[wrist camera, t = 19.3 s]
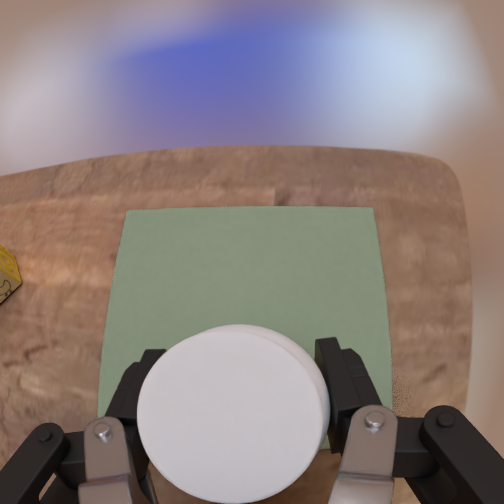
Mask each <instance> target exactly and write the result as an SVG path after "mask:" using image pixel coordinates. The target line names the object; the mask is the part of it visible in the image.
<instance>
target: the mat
mask: <svg viewBox="0 0 504 504" xmlns="http://www.w3.org/2000/svg"><path fill="white" fill-rule="evenodd" d="M232 324H246V325H254V326H260V327H264V328H268V329H271V330H273V331H276V332H278V333H280V334H282V335H284V336H286V337H288V338H289V339H291V340H293V341H294V342H295V343H297V344H298V345H299V346H300V347H302V348H303V349H304V350H305V351H306V352H307V353H308V354H309V355H310V356H311V358H312V359H313V360H314V359H315V340H316V339H320V338H328V337H336V338H337V340H338V343H339V345H340V348H341V349H348V348H351V349H353V350H354V351H355V352H356V353H358V354H359V355H360V356H361V358H362V360H363V363H364V365H365V367H366V369H367V371H368V375H369V376H370V378H371V380H372V382H373V385H374V387H375V389H376V391H377V394H378V396H379V398H380V400H381V403H382V405H383V406H385V407H387V408H389V409H391V410H393V407H392V365H391V346H390V332H389V320H388V309H387V300H386V291H385V282H384V275H383V267H382V260H381V253H380V247H379V241H378V235H377V229H376V223H375V218H374V213H373V208H364V207H311V206H253V207H200V208H169V209H146V210H128V211H127V214H126V219H125V223H124V227H123V231H122V236H121V240H120V245H119V249H118V254H117V259H116V264H115V269H114V275H113V280H112V286H111V292H110V298H109V304H108V310H107V317H106V324H105V332H104V340H103V349H102V358H101V369H100V381H99V395H98V415H97V418H100V417H104V415H105V413H106V411H107V408H108V406H109V404H110V402H111V400H112V397H113V395H114V393H115V391H116V389H117V386H118V384H119V382H121V378H122V376H123V373H124V371H125V370H126V369H127V368H128V367H129V366H130V365H131V364H132V363H133V362H140V360H141V358H142V355H143V353H144V351H145V350H146V349H166V351H168V350H169V349H170V348H172V347H173V346H175V345H176V344H178V343H180V342H181V341H183V340H185V339H187V338H189V337H192V336H194V335H197V334H199V333H201V332H203V331H206V330H208V329H212V328H215V327H219V326H224V325H232ZM320 449H330V444H329V440H328V436H327V434H326V437H325V440H324V442H323V444H322V446H321V448H320Z"/></svg>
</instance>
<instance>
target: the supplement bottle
mask: <svg viewBox="0 0 504 504" xmlns="http://www.w3.org/2000/svg"><path fill="white" fill-rule="evenodd" d="M329 422H330V399H329V393H328V389H327V386H326V383H325V380H324V378H323V376H322V374H321V371H320V370H319V368H318V366H317V365H316V363H315V362H314V360H313V359H312V358H311V356H310V355H309V354H308V353H307V352H306V351H305V350H304V349H303V348H302V347H300V346H299V345H298V344H297V343H295V342H294V341H293V340H291V339H289V338H288V337H286V336H284V335H282V334H280V333H278V332H276V331H273V330H271V329H268V328H264V327H260V326H254V325H246V324H232V325H224V326H219V327H215V328H212V329H208V330H206V331H203V332H201V333H199V334H197V335H194V336H192V337H189V338H187V339H185V340H183V341H181V342H180V343H178V344H176V345H175V346H173V347H172V348H170V349H169V350H168V351H167V352H165V353H164V354H163V355H162V356H161V357H160V358H159V359H158V360H157V362H156V363H155V364H154V365H153V367H152V368H151V370H150V371H149V373H148V375H147V376H146V378H145V380H144V382H143V385H142V387H141V391H140V394H139V399H138V405H137V424H138V430H139V434H140V438H141V441H142V444H143V446H144V449H145V451H146V453H147V455H148V457H149V458H150V460H151V461H152V463H153V464H154V466H155V467H156V468H157V469H158V471H159V472H160V473H161V474H162V475H163V476H164V477H165V478H166V479H167V480H168V481H170V482H171V483H172V484H173V485H175V486H176V487H178V488H180V489H181V490H183V491H185V492H186V493H188V494H190V495H193V496H195V497H198V498H200V499H203V500H207V501H211V502H216V503H225V504H242V503H249V502H255V501H259V500H262V499H265V498H268V497H271V496H273V495H275V494H277V493H279V492H281V491H282V490H284V489H285V488H287V487H288V486H290V485H291V484H292V483H293V482H294V481H296V480H297V479H298V478H299V477H300V476H301V475H302V474H303V472H304V471H305V470H306V469H307V468H308V466H309V465H310V463H311V461H312V460H313V459H314V457H315V456H316V454H317V453H318V451H319V450H320V448H321V446H322V444H323V442H324V440H325V437H326V434H327V431H328V427H329Z"/></svg>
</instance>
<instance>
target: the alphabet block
mask: <svg viewBox="0 0 504 504" xmlns="http://www.w3.org/2000/svg"><path fill="white" fill-rule="evenodd" d="M21 283H22V281H21V278H20V274H19V271H18V267H17V263H16V260H15V257H14V255H12V254H11V253H10V252H9V251H7V250H6V249H5V248H4V247H2V246H1V245H0V303H1V302H2V301H3V300H4V299H5V298H6V297H7V296H8V295H10V294H11V293H12V292H13V291H14V290H15V289H16V288H17V287H18V286H19V285H20V284H21Z"/></svg>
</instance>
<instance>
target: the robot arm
mask: <svg viewBox="0 0 504 504" xmlns="http://www.w3.org/2000/svg"><path fill="white" fill-rule="evenodd" d="M165 352H167V351H166V349H146V350H145V351H144V353H143V355H142V358H141V360H140V362H133V363H132V364H131V365H130V366H129V367H128V368H127V369H126V370H125V371H124V373H123V376H122V378H121V382H119V384H118V386H117V389H116V391H115V393H114V395H113V397H112V400H111V402H110V404H109V406H108V408H107V411H106V413H105V415H104V417H100V418H97V419H95V420H93V421H92V422H90V423H89V424H88V425H87V427H86V428H85V431H81V432H72V433H64V432H63V430H62V429H61V427H60V426H59V425H57V424H55V423H44V424H41V425H39V426H37V427H36V428H35V429H34V430H33V431H32V432H31V434H30V435H29V436H28V437H27V438H26V440H25V441H24V442H23V443H22V445H21V446H20V447H19V448H18V450H17V451H16V452H15V453H14V455H13V456H12V457H11V458H10V460H9V461H8V462H7V463H6V465H5V466H4V467H3V469H2V470H1V471H0V504H159V502H158V499H157V495H156V492H155V488H154V485H153V481H152V477H151V473H150V470H149V469H148V464H149V460H150V458H149V457H148V455H147V453H146V451H145V449H144V446H143V444H142V441H141V438H140V434H139V430H138V424H137V405H138V399H139V394H140V391H141V387H142V385H143V382H144V380H145V378H146V376H147V375H148V373H149V371H150V370H151V368H152V367H153V365H154V364H155V363H156V362H157V360H158V359H159V358H160V357H161V356H162V355H163V354H164V353H165ZM314 362H315V363H316V365H317V366H318V368H319V370H320V371H321V374H322V376H323V378H324V380H325V383H326V386H327V389H328V393H329V399H330V422H329V427H328V431H327V436H328V440H329V444H330V449H331V453H332V454H334V453H341V457H342V460H341V463H340V467H339V470H338V473H337V476H336V479H335V483H334V486H333V489H332V492H331V496H330V499H329V502H328V504H391V502H392V496H393V490H394V478H392V477H404V479H405V480H406V482H407V483H408V485H409V486H410V488H411V489H412V491H413V492H414V494H415V495H416V497H417V498H418V500H419V501H420V503H421V504H504V459H503V458H502V457H501V456H500V454H499V453H498V452H497V451H496V450H495V449H494V448H493V447H492V446H491V444H490V443H489V442H488V441H487V440H486V439H485V438H484V437H483V436H482V435H481V434H480V432H479V431H478V430H477V429H476V428H475V427H474V426H473V425H472V424H471V423H470V422H469V421H468V420H467V418H466V417H465V416H464V415H463V414H462V413H461V412H460V411H459V410H457V409H456V408H454V407H451V406H446V405H442V406H436V407H434V408H432V409H430V410H429V411H428V412H427V413H426V415H425V417H424V418H406V417H399V416H396V415H395V413H394V412H393V411H392V410H391V409H389V408H387V407H385V406H383V405H382V403H381V400H380V398H379V396H378V394H377V391H376V389H375V387H374V385H373V382H372V380H371V378H370V376H369V375H368V371H367V369H366V367H365V365H364V363H363V360H362V358H361V356H360V355H359V354H358V353H356V352H355V351H354V350H353V349H351V348H348V349H341V348H340V345H339V343H338V340H337V338H336V337H328V338H320V339H316V340H315V359H314ZM53 473H54V474H55V475H56V478H55V479H54V481H53V482H52V484H51V485H50V487H49V488H48V490H47V491H46V493H45V494H44V495H43V497H42V498H41V500H40V501H39V494H40V492H41V490H42V489H43V487H44V486H45V484H46V483H47V481H48V480H49V478H50V477H51V476H52V474H53Z"/></svg>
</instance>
